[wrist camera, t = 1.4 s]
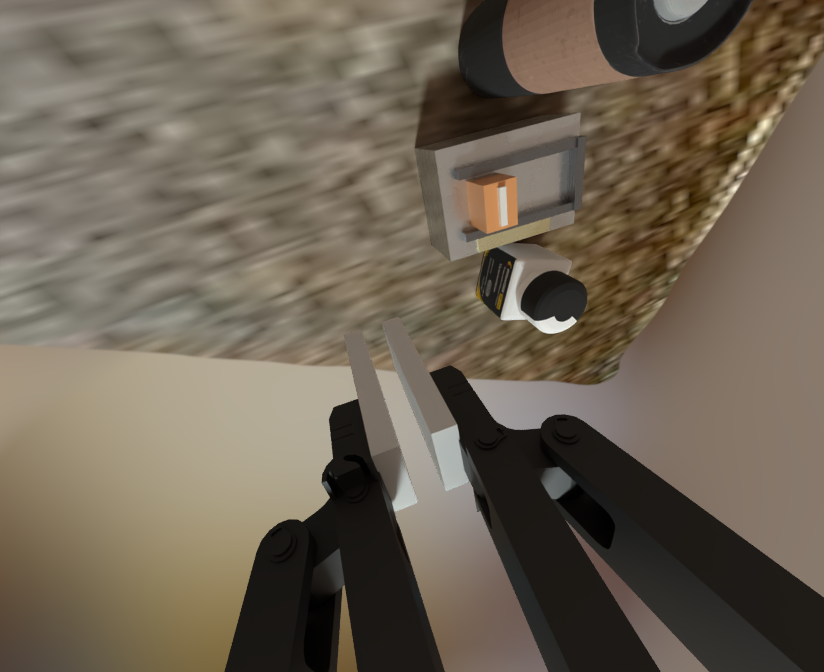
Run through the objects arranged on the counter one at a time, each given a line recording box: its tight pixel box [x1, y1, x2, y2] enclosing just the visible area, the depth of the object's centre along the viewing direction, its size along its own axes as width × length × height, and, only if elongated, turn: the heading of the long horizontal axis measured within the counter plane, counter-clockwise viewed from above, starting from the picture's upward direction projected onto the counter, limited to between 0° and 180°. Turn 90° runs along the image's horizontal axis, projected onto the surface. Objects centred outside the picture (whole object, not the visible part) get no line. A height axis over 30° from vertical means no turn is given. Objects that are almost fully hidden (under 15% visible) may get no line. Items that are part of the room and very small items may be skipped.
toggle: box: [466, 173, 518, 234], centre depth 31 cm, size 4×3×4 cm
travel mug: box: [458, 0, 753, 98], centre depth 23 cm, size 8×8×20 cm
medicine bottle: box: [476, 243, 587, 334], centre depth 39 cm, size 7×7×12 cm
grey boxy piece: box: [415, 112, 586, 261], centre depth 34 cm, size 10×14×7 cm
